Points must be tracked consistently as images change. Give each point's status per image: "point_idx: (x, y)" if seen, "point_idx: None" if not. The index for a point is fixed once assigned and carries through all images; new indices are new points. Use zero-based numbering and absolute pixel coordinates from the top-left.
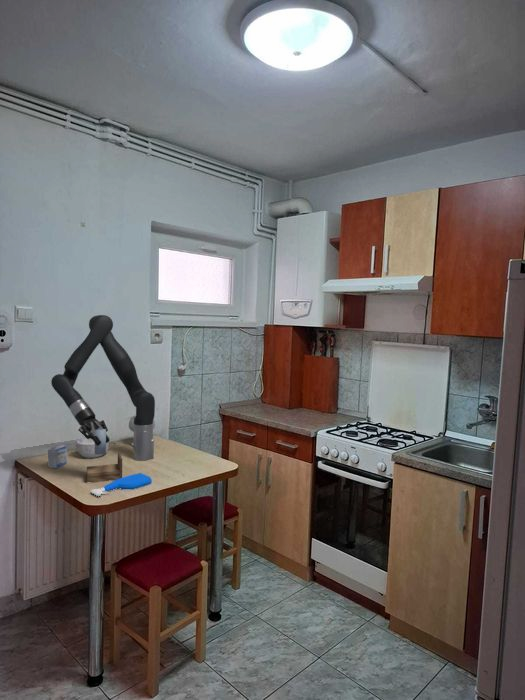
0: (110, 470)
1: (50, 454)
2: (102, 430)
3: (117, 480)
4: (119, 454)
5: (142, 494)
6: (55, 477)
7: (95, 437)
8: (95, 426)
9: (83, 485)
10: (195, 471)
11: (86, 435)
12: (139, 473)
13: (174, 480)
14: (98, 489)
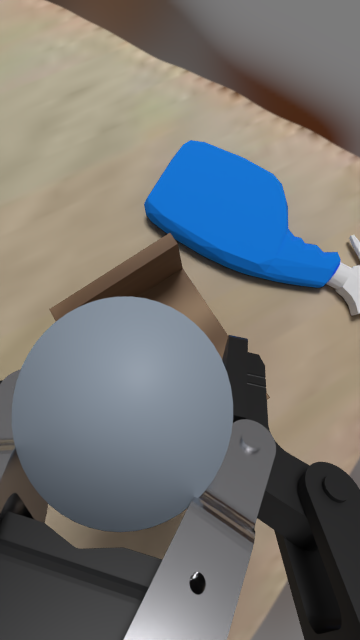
0: (191, 311)
1: None
2: (149, 344)
3: (253, 249)
4: (85, 293)
5: (306, 133)
6: None
7: (246, 416)
8: (21, 618)
9: (288, 394)
10: (34, 70)
11: (318, 578)
12: (153, 200)
13: (142, 95)
14: (356, 283)
